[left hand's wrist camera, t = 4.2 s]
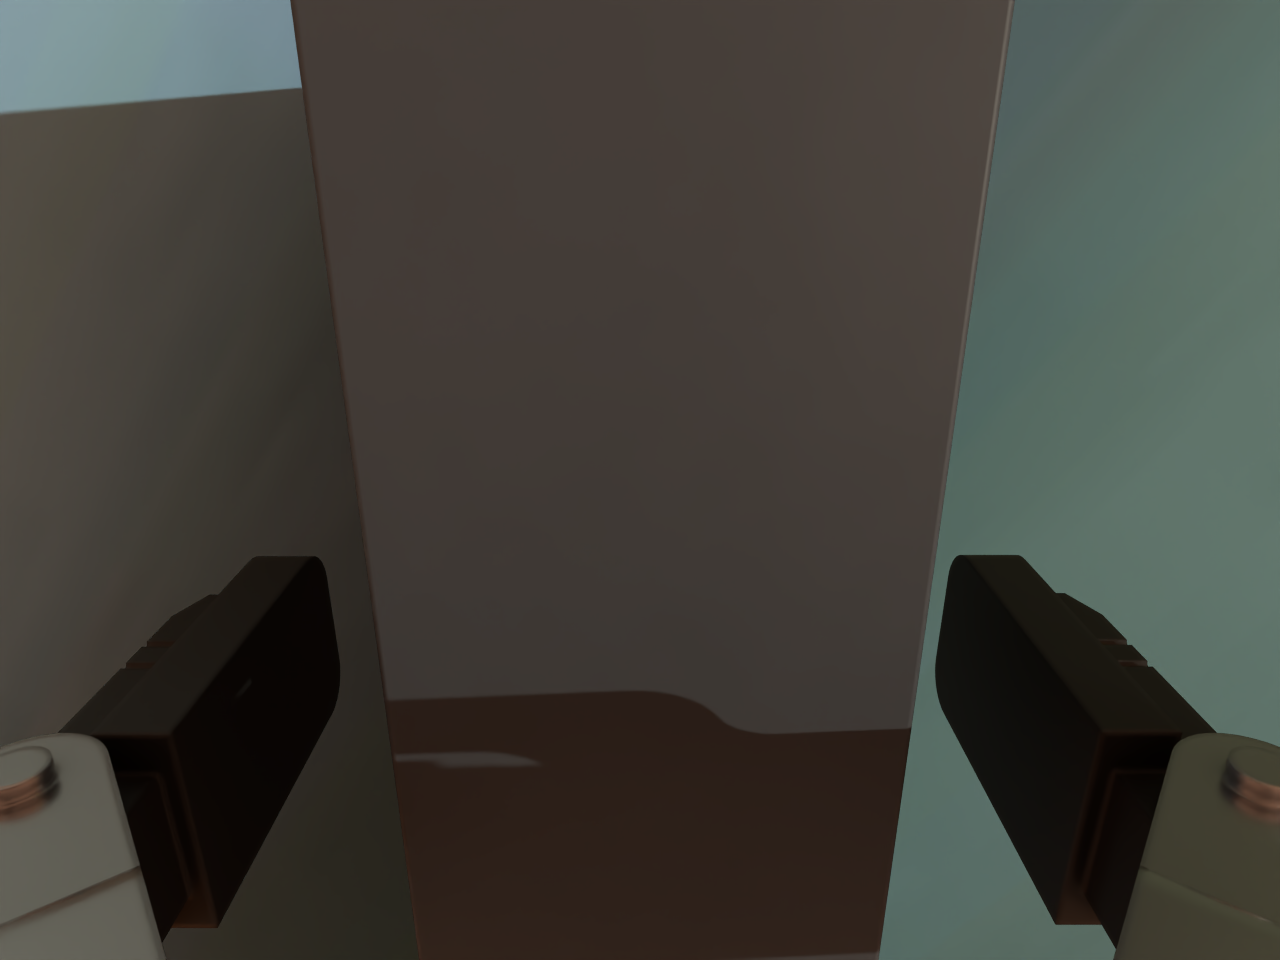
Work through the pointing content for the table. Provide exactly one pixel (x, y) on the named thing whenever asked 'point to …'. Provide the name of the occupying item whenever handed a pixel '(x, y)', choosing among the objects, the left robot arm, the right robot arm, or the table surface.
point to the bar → (650, 444)
